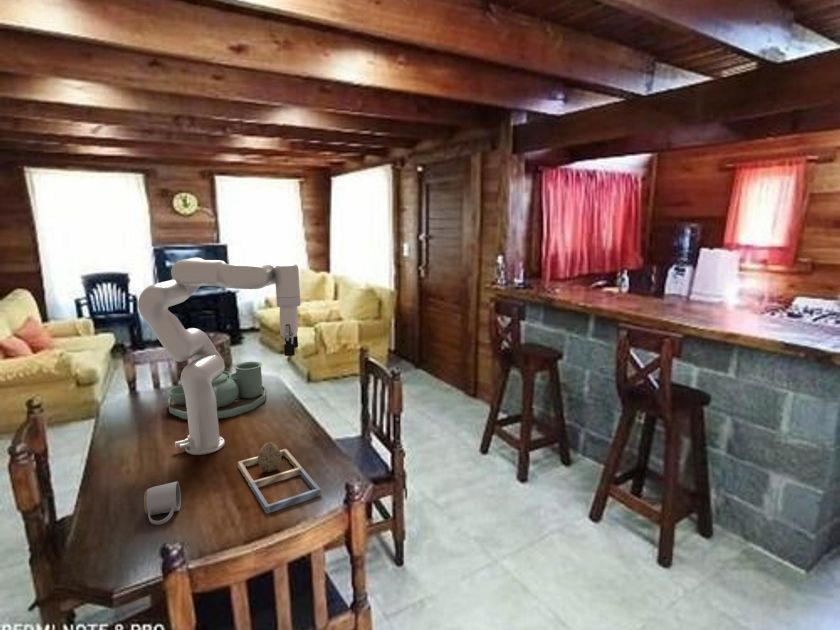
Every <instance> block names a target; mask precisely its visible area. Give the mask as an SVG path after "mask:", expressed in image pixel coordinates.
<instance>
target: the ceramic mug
mask: <svg viewBox="0 0 840 630" xmlns="http://www.w3.org/2000/svg"><path fill="white" fill-rule="evenodd" d="M181 493H182V492H181V486H180V483H179V482H178V481H173V482H170V483H164V484H160V485H156V486H152V487H149V488H148V489H146V490H145V491H144V496H143V506H144V507H143V508H144V512H145V514H147V516H148V520H149V522H150V523H151V524H152V525H156V526H157V525H158V526H159V525H163V524H165V523H167V522H168V521H170V519H172V517H173V515H174V512H178V511H180V509H181V504H182V494H181ZM160 514H167V516H166V517H164V518H162V519H160V520H154V519H152V516H153V515H154V516H155V515H160Z"/></svg>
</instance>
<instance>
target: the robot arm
mask: <svg viewBox="0 0 840 630" xmlns="http://www.w3.org/2000/svg"><path fill="white" fill-rule="evenodd" d="M170 270H171V271H170V273H171V279H170V280H165V281H160V282H156V283H153V284H151V285H149V286H147V287H146V288H144V289H143V290H142V291H141V293H140V296H139V297H138V301H137V302H138V303H137V304H138V305H137V307H138V311H139V314H140V315H141V317H142V318H143V320H144V321H145V323H146V324H147V325H148V326H149V328H150V329H151V331H152V332H153V333H154V335H155V336H156V338H157V339H158V341H159V342H160V344H161V346H162V347H163V349H164V350H165V351H166V353H167V354H168V356H169V357H170V358H171V359H172V360H173V361H174V362H178V363H179V362H185V361H187V360H189V359H192V361H191V362H189V363H187V365H186V366H184V368H183V369H182V370H181V374H180V381H181V383H182V386H183V389H184V393H185V399H186V408H187V416H188V419H187V425H188V435H187V438H184V439H182V440H177V441H174V447H175V448H178V447H179V448H180V449H184V448H185V452H187V454H190V455H194V456H197V455H198V456H201V455H207V454H211V453H214V452H216V451H219V450H221V449H222V448H223V447H224V446H225V443H226V442H225V439H224V438H223V437H222V436H220V426H219V419H218V415H217V403H216V395H215V392H214V390H213V387H212V382H213V381H214V380H215V379H217V378H218V377H219V376H221V375H222V373H223V372H224V371H225V369H226V368H225V367H226V366H225V361H224V359H223V358H222V356H221V354H220V352H218V350H217V348H216V346H215V345H214V343H213V342H212V340H211V338H209V336H208V334H206V333H205V331H202V330H201V329H199V328H195V327H189V328H187V329H186V328H185V327H184V325H183V324H182V322H181V321H180V319H179V318H178V317H177V316H176V315H175V314H173V313H172V312H171V311H170V310H169V307H170V308H171V307H172V306H175V305H178V304H181V303H184V302H185V301H186V300H188V299H189V298H190V297H192V296H193V294H194V293H195V292H197V290H198V289H199V288H200V287H222V288H228V289H234V290H235V289H236V290H237V289H239V290H240V289H241V290H259V289H263V288H266V287H269V286H271V285H275V297H276V298H275V299H276V307H277V308H279V336H280V337H281V338H284V339H283V353H284V357H293V356H295V352H296V350H295V349H298V348H299V341H298V340H299V339H298V330H299V318H298V317H299V315H298V314H299V313H298V307H300V306H301V305H302V304H301V291H300V290H301V289H300V272H299V271H300V270H299V266H298V265H297V264H295V263H291V262H290V263H288V262H287V263H275V262H260V263H256V264H252V265H251V264H250V265H246V264H245V265H243V264H228V263H226V262H225V261H224V260H221V259H218V260H217V259H213V260H212V259H203V258H201V257H190V258H185V259H180V260H178V261H177V262H176V261H175V263H174V264H173V265H172V267H171V269H170Z"/></svg>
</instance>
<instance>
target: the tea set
mask: <svg viewBox="0 0 840 630" xmlns="http://www.w3.org/2000/svg"><path fill="white" fill-rule="evenodd" d="M262 366H263V364H262V362H259V361H253V360H252V361H243V362H240V363H237V364H232V367H234V369H235V372H234V373H232V374H231V372H230V371H227V370H224V372H223V373H222V375H221V376H219V377H218V378H217V379H215V380H214V381H213V382H212V387H213V390H214V392H215V395H216V403H217V415H218V420H219V419H225V418H233V417H235V416H238V415H241V414H243V413H244V414H245V413H248V412H250V411H253V410H255V409H256V408H258V407H259V406H260V405H262V404H263V403H264V402H265V401H266V399H267V398H266V397H267V387H266V386H264V385H263V379H262V378H263V377H262V375H263V374H262ZM178 385H179V386H175V387H172V388H171V389H169V390H168V394H169V396H170V397H169V398H168V399H167V400H168V404H167V405H168V412H169V414H170V415H172V414H173V416H175V417H177V416H178V418H180V419H182V420H188V416H187V408H186V399H185V393H184V389H183V386H182V383H181V380H179V381H178Z"/></svg>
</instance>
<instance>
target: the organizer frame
mask: <svg viewBox="0 0 840 630" xmlns="http://www.w3.org/2000/svg"><path fill="white" fill-rule="evenodd" d="M279 450H280V449H279ZM280 453H281V458H282V456H283V457H285V458H286V459H288V460H289V461H288V460H287V461H288V462H289V463H290V464H291V466H292V465H293V466H294V467H293V466H292V467H293V468H292V469H289V470H286V471H282V472H279V473H275V474H272V475H269V476H266V477H262V478H259V479H253V478H252V475H250V473H249V470H248V469H247V467H250V466H254V465H257V464H258V455H257V456H254V457H250V458H246V459H243V460H239V461H237V467H238V469H239V471H240V473H241V474H242V476H243V478H244V477H245V478H244V479H245V481H246V483H247V482H248V483H247V485H249V488H250V487H251V488H250V489H251V491H252V492H253V494H254V495H255V496H254V497H255V498H256V499H257V501H258V502H259V504H260V506H261V507H262V509H263V511H264V513H265V514H266V515H267V514H271V513H273V512H276V511H279V510H282V509H286V508H287V507H291V506H294V505H297V504H300V503H303V502H306V501H308V500H312V499H315V498H318V497H321V496H322V489H321V488H320V487H319V485H318V484H317V483H316V481H314V479H312V478H313V477H311V476H310V475H309V474H308V472H307V471H306V470H305V469H304V468H303V466H301V464H300V463H299V462H298V461H297V459H296V458H295V457H294V456H293V455H292V453H290V452H289V450H288V449H287V448H284V449H281V450H280ZM258 465H259V464H258ZM246 466H247V467H246ZM297 476H300V477H301V478H302V479H303V480H304V482H305V483H306V484H307V485H308V486H309V488H310V489H311V490H308V491H306V492H302V493H299V494H296V495H293V496H290V497H288V498H284V499H281V500H279V501H275V502H272V503H268V502H267V500H266V499H265V497H264V495H263V494H262V492H261V490H260V489H259V488H260V487H265V486H267V485H271V484H275V483H277V482H281V481H284V480H288V479H290V478H293V477H297Z"/></svg>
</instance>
